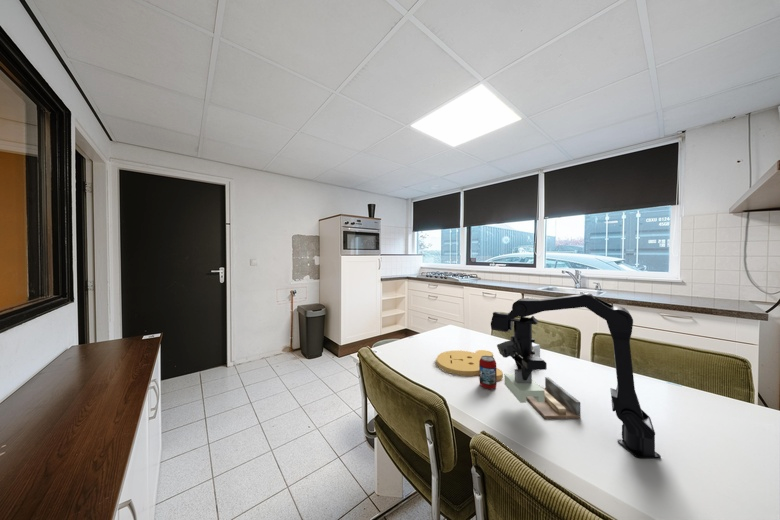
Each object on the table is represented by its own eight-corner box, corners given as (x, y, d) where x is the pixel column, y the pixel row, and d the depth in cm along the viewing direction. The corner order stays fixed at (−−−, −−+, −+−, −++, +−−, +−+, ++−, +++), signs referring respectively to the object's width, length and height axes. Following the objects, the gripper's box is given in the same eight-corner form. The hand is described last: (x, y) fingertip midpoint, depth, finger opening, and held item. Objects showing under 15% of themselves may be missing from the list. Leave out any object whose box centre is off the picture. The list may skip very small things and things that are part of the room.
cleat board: (580, 418, 86) (580, 402, 86) (544, 418, 87) (544, 402, 86) (548, 390, 104) (548, 377, 104) (518, 390, 105) (518, 377, 104)
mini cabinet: (544, 402, 85) (544, 378, 84) (520, 402, 85) (520, 378, 85) (525, 384, 97) (525, 363, 96) (504, 384, 97) (504, 363, 97)
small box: (518, 361, 133) (518, 341, 133) (526, 359, 135) (525, 339, 135) (532, 367, 125) (532, 346, 125) (540, 365, 128) (540, 344, 128)
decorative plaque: (435, 377, 118) (505, 382, 112) (435, 371, 118) (504, 376, 112) (437, 352, 149) (491, 355, 143) (437, 347, 149) (491, 350, 143)
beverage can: (478, 388, 107) (478, 359, 107) (480, 380, 113) (480, 354, 113) (495, 391, 104) (495, 362, 104) (497, 384, 110) (497, 356, 110)
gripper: (489, 327, 100) (490, 367, 100) (512, 344, 81) (512, 392, 81) (518, 327, 100) (519, 367, 100) (547, 343, 81) (547, 392, 81)
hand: (523, 378), depth 91 cm, fingers closed on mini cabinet
